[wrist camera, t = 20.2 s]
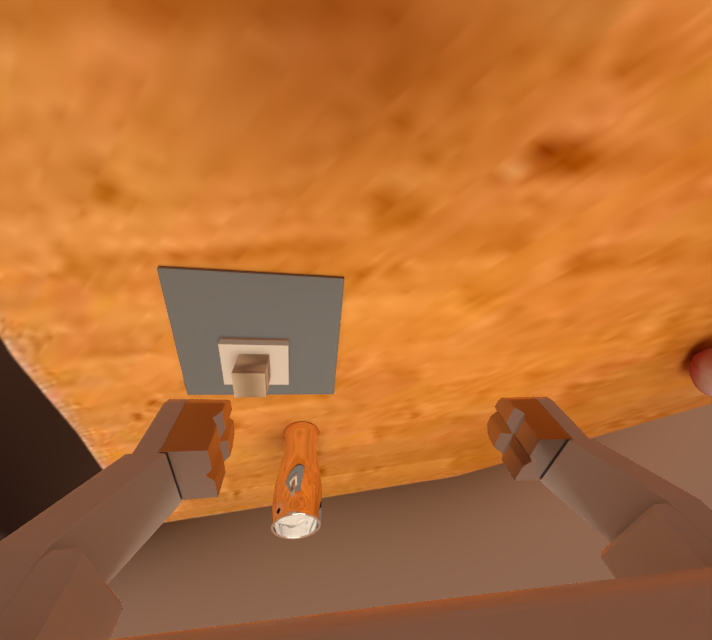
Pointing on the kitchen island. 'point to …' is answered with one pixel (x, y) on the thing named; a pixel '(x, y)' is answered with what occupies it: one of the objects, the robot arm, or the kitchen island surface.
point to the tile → (273, 347)
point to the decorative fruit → (702, 371)
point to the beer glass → (298, 485)
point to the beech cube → (251, 375)
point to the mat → (254, 323)
